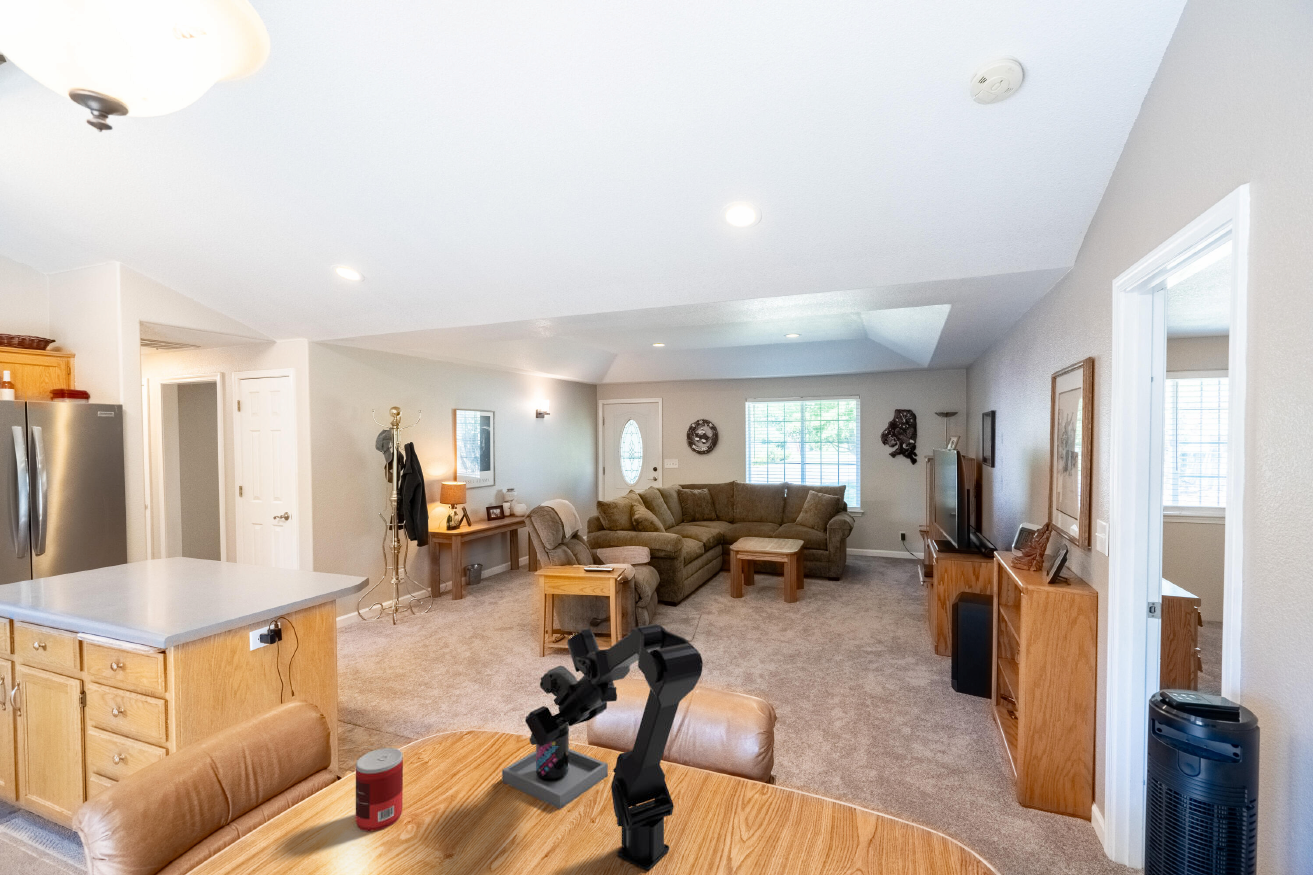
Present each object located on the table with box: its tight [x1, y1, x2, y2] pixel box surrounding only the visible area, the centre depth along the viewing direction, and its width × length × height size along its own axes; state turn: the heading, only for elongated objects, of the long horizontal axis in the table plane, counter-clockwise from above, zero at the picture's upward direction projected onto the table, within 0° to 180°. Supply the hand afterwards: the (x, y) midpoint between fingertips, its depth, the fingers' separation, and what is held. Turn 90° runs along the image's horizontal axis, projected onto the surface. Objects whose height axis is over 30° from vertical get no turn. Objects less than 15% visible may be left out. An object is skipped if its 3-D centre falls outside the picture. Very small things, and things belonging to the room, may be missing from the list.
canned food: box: [355, 747, 404, 832], centre depth 112 cm, size 8×8×11 cm
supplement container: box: [535, 719, 570, 782], centre depth 125 cm, size 7×7×10 cm
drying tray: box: [501, 748, 609, 810], centre depth 125 cm, size 16×14×2 cm
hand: (547, 733), depth 126 cm, fingers open, 9 cm apart
